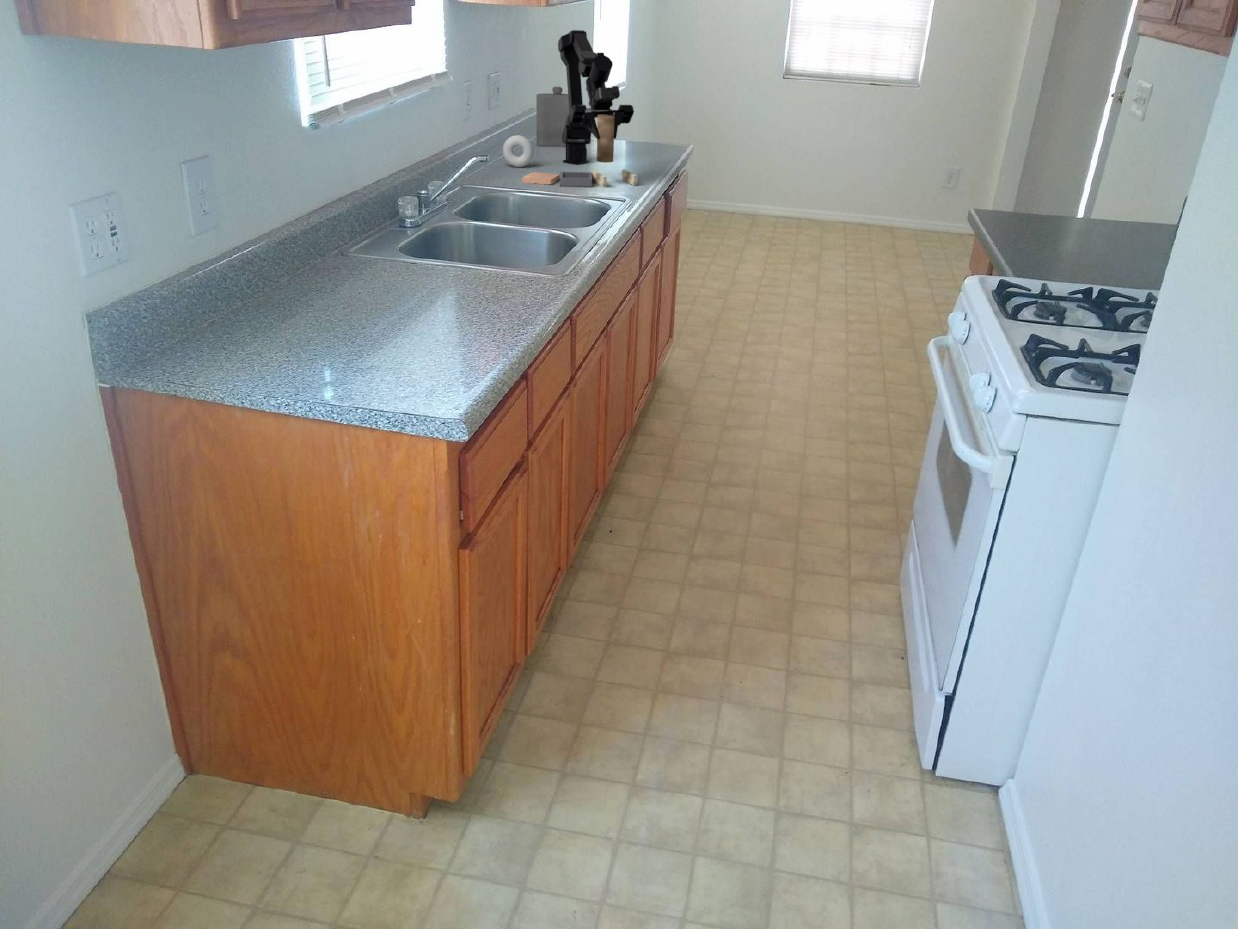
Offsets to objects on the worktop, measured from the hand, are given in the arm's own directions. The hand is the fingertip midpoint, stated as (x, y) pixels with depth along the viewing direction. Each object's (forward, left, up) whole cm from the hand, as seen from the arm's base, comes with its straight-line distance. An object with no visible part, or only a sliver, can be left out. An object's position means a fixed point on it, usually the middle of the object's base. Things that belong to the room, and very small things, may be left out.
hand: (606, 138), depth 283 cm
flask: (-54, +43, -14) cm, 70 cm away
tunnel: (+1, +3, -13) cm, 14 cm away
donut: (-37, +2, -14) cm, 39 cm away
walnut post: (-1, +1, -7) cm, 7 cm away
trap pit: (-7, -5, -13) cm, 16 cm away
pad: (-17, -10, -13) cm, 24 cm away
